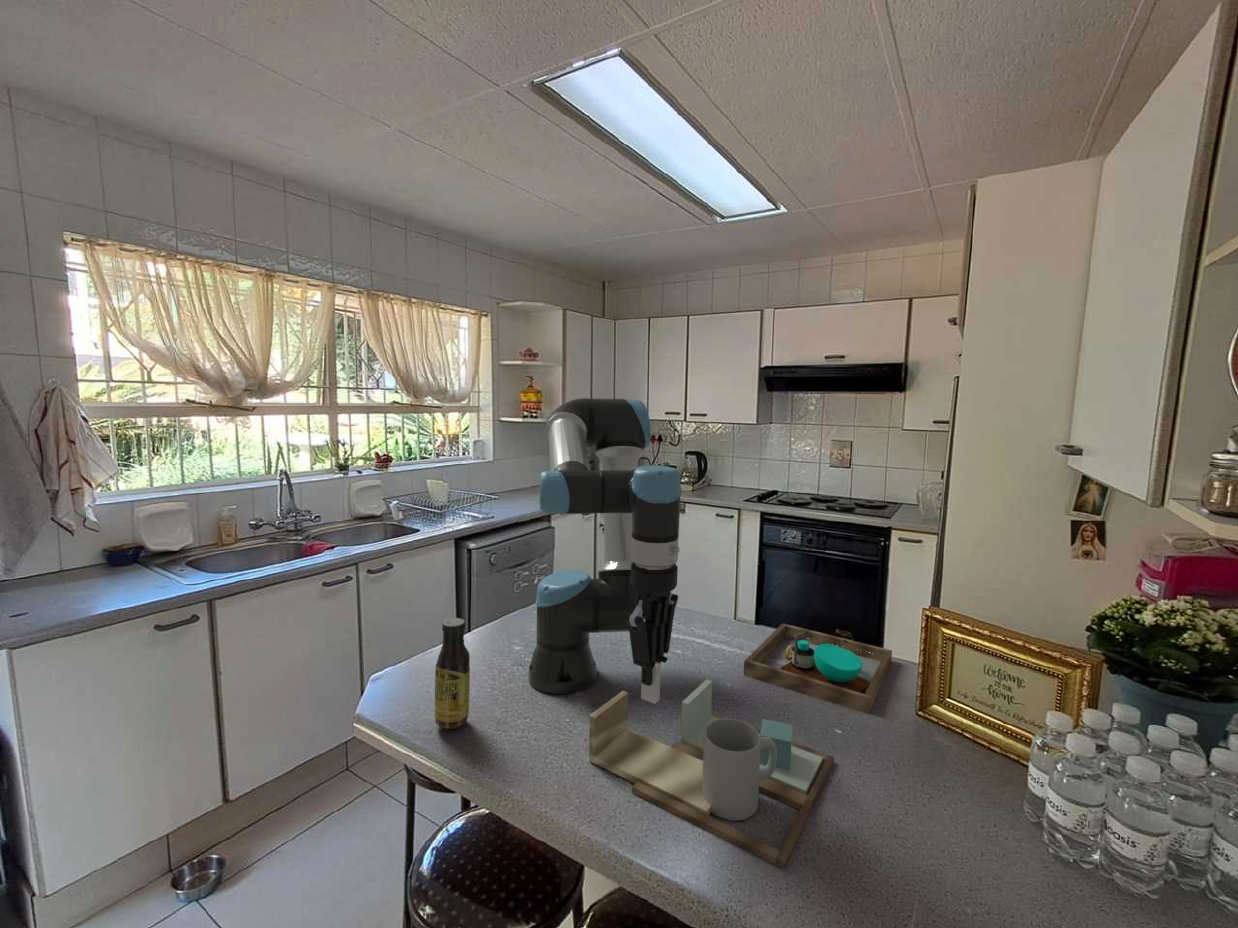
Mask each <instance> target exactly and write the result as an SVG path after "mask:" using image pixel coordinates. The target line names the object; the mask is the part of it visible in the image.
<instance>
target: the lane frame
mask: <svg viewBox="0 0 1238 928" xmlns="http://www.w3.org/2000/svg"><path fill="white" fill-rule="evenodd" d="M711 716H713V717H716V718H719V719H725V718H728V717H726V716H723V715H721V714H717V713H716V712H713V711H711ZM728 719H730V718H728ZM752 727H753V726H752ZM753 728H755V729H756V730H757V732H758V733H759V734H760V731H761V729H759V728H756V727H753ZM791 746H794V747H797V748H799V749H802V750H805V751H807V752H810V753H813V754H815V755H818V756H821V757H823V763H822V766H821V768H820V770H819V772H818V774H817V776H816V778H815V780H814V782H813V784H812V786H811V788H810V790H809V792H808V794H807V795H806V794H804V793H801V792H799V791H797V790H794V789H792V788H789V787H787V786H785V785H782V784H780V783H777V782H775V781H773V780H770V779H768V778H766V779H764V780H760V781H759V792H758V793H761V794H764V795H766V796H767V797H770V798H772V799H775V800H776V801H779V802H781V803H783V804H786V805H788V806H791V807H793V808H795V809H797V810H799V812H798V814H797V816H796V818H795V820H794V822H793V824H792V825H791V828H790V830H789V832H788V833H787V836H786V838H785V839H784V842H783V844H782V846H781V848H780V850H779V849H777V848H775V847H773V846H771V845H769V844H766V843H764V842H762V841H760V840H759V839H756V838H755V837H753V836H750V835H748V834H746V833H744V832H742V831H740V830H737V829H736V828H733V827H731V826H730V825H728V824H725V823H723V822H722V821H719V820H718V819H715V818H713V817H711V816H710V815H709V816H707V815H705V814H703V813H701V812H699V811H697V810H695V809H693V808H691V807H689V806H687V805H685V804H683V803H681V802H679V801H677V800H675V799H672V798H670V797H668V796H666V795H664V794H662V793H660V792H658V791H656V790H654V789H652V788H650V787H648V786H646V785H644V784H642V783H640V782H638V781H637V782H636V783H633V785H632V786H631V793H632V794H634V795H636V796H638V797H640V798H642V799H643V800H646V801H648V802H650V803H651V804H654V805H655V806H658V807H660V808H661V809H663V810H666V811H668V812H670V813H671V814H674V815H676V816H678V817H679V818H682V819H683V820H685V821H688V822H689V823H691V824H693V825H696V826H697V827H699V828H701V829H703V830H705V831H707V832H709V833H711V834H714V835H715V836H717V837H719V838H722V839H723V840H725V841H727V842H729V843H731V844H734V845H735V846H737V847H738V848H741V849H743V850H745V851H748V852H749V853H751V854H752V855H754V856H757V857H759V858H761V859H763V860H765V861H767V862H769V863H771V864H772V865H774V866H777V867H779V868H781V869H783V870H784V869H785V866H786V865H787V862H788V860H789V858H790V855H791V853H792V851H793V849H794V846H795V844H796V843H797V841H798V839H799V837H800V834H801V832H802V830H803V829H804V825H805V823H806V822H807V820H808V817H809V815H810V813H811V811H812V809H813V808H814V805H815V803H816V801H817V798H818V796H819V794H820V793H821V790H822V788H823V785H824V784H825V781H826V780H827V777H828V775H829V773H830V771H831V769H832V767H833V765H834V763H835V760H834V759H835V757H834V756H833V755H830V754H827V753H824V752H821V751H818V750H816V749H813V748H810V747H807V746H805V745H803V744H799V743H796V742H794V741H792V745H791ZM670 747H671V748H674V749H676V750H678V751H681V752H683V753H686V754H688V755H690V756H693V757H695V758H697V759H700V760H702V761H703V751H701V750H698V749H696V748H693V747H691V746H689V745H686V744H684V743H681V741H679V740H676V741H675V742H674V743H673V744H672V745H671V746H670Z"/></svg>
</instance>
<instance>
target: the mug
mask: <svg viewBox="0 0 1238 928" xmlns="http://www.w3.org/2000/svg"><path fill="white" fill-rule="evenodd" d="M755 728H756V727H754V728H753V726H752V725H751V724H749V723H748V722H745V721H742V720H740V719H735V718H729V719H728V717H726V718H725V719H718V720H715V721H712V722H711V723H709V724H708V725H707V726H706V728H705V731H704V751H703V780H702V794H703V797H704V798H705V800H706V801H707V802H708V803H709V804H710V805H711V814H713V815H714V816H716V817H718V818H720V819H723V820H727V821H731V822H735V821H736V822H737V821H738V822H739V821H744V820H746V819H749V818H751V817H752V816H753V815H754V814H755V813H756V811H757V809H758V806H759V793H760V792H759V781H760V780H764V779H766V778H768V777H770V776H771V775H772V774H773V773H774V770H775V768H776V763H777V749H776V745H775V743H774V741H773V740H772V739H771V738H769V737H760V735H759V733H758V732H757V730H756V729H757V728H756V729H755ZM763 748H769V751H770V755H769V761H768V763H767V765H766V766H765V767H763V768H760V750H761V749H763ZM759 768H760V769H759Z"/></svg>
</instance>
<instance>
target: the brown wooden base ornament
mask: <svg viewBox="0 0 1238 928" xmlns="http://www.w3.org/2000/svg"><path fill="white" fill-rule="evenodd" d="M834 633H836V634H838V635H840V636H843V638H844V639H846V637H848V638H850V639H851V640H852V641H853V642H857V641H855V640H854V637H853V636H852V632H850V631H847V630H843V629H839V628H836V629H835V632H834ZM802 635H803V637H806V633H805V632H801V633H799V634H797V635H796V636H795V640H794V645H793V644H789V645H788V646H787V647H786V649H785V654H784V655H785V656H784V657H785V659H786V660H787V661H790V662H788V663H786V664H784V665H783V666H780V669H782V670H785V671H789V672H792V673H795V674H799V675H802V676H805V677H809V678H812V679H816V680H819V681H822V682H826V683H829V684H832V685H836V686H839V687H842V688H846V689H849V690H853V691H856V692H859V693H863V694H865V693H866V691H867V689H868V687H869V683H868V681H867V678H864V677H861V676H859V674H860V673H861V670H862V668H863V664H864V663H863V660H862V659H861V658H860V656H857V655H855V654H854V653H852V652H850V651H848V650H846V649H843V648H840V647H837V646H835V645H832V644H820V645H816V646H815V648H812V647H810V643H809V642H808V641H804V640H800V641H798V637H800V636H802ZM843 641H844V643H847V642H848V641H846V640H843ZM847 644H848V643H847Z"/></svg>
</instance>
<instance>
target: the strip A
mask: <svg viewBox="0 0 1238 928" xmlns="http://www.w3.org/2000/svg"><path fill="white" fill-rule="evenodd" d="M628 720H629V692H627V691H625V690H622V691H620V692H619V693H618V694H616V695H615V696H614V697H612V698H610V700H608V701H607V702H605V703H604V704H603V705H601V706H600V707H599V708H598V709H597V710H594V712H592V713H591V714H590V715H589V727H588V728H589V729H588V730H589V731H588V732H589V735H588V736H589V739H588V740H589V741H588V744H589V745H588V746H589V747H588V749H589V750H588V761H589V762H590V763H593V764H595V765H597V766H599V767H601V768H603V769H605V770H606V771H609V772H611V773H613V774H615V775H617V776H619V777H621V778H624V779H626V781H630V783H633V784H635V783H636V782H637V781H638V782H640V783H642V784H644V785H646V786H648V787H650V788H652V789H654V790H656V791H658V792H660V793H662V794H664V795H666V796H668V797H670V798H672V799H675V800H677V801H679V802H681V803H683V804H685V805H687V806H689V807H691V808H693V809H695V810H697V811H699V812H701V813H703V814H705V815H707V816H709V817H710V815H711V814H712V812H711V805H710V804H709V803H708V802H707V801H706V800H705V798H704V797H703V794H702V780H703V761H702V760H700V759H697V758H695V757H693V756H690V755H688V754H686V753H683V752H681V751H678V750H676V749H674V748H671V746H670V745H666V744H664V743H662V742H660V741H658V740H655V739H652V738H650V737H648V736H645V735H643V734H640V733H638V732H637V731H635V730H631V729H629V726H628V724H629V723H628Z"/></svg>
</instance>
